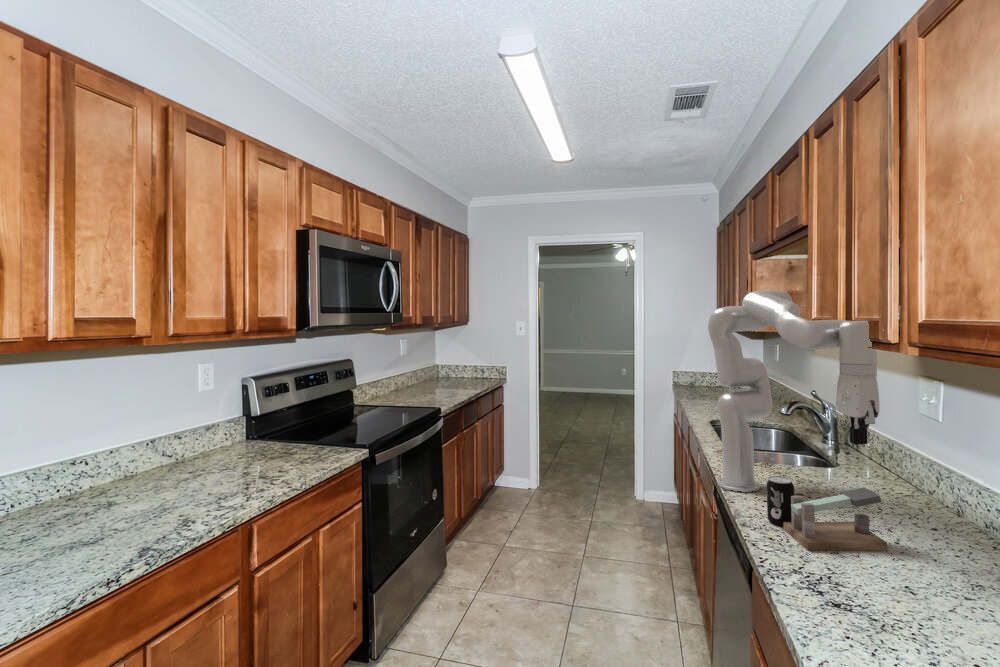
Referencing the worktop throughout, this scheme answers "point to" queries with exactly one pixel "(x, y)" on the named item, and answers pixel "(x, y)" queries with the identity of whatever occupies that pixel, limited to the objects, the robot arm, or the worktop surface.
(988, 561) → the worktop surface
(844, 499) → the press lever
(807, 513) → the press base
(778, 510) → the beverage can
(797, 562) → the worktop surface
